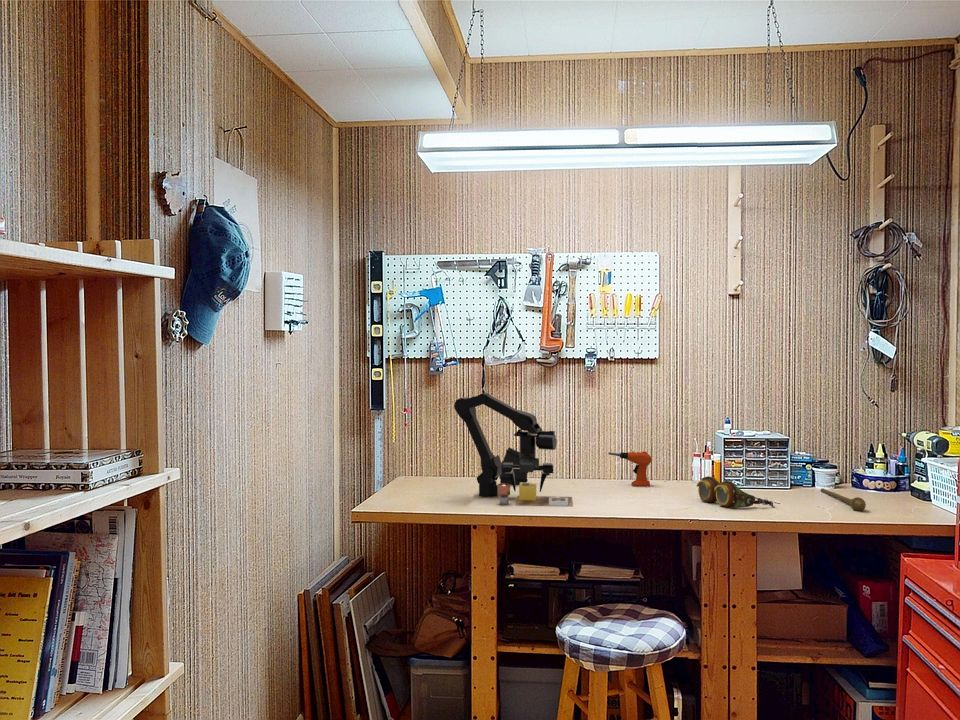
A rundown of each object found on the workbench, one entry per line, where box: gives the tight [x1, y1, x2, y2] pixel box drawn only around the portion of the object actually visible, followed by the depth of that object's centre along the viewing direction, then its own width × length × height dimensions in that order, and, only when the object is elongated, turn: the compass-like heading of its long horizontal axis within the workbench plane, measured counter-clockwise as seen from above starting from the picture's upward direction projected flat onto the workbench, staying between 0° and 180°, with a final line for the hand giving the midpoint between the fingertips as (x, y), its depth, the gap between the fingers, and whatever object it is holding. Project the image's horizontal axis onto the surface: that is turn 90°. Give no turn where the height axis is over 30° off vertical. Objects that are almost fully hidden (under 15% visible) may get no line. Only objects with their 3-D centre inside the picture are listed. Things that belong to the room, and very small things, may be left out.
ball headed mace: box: [820, 487, 867, 512], centre depth 253 cm, size 5×35×5 cm
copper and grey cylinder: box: [497, 483, 511, 506], centre depth 246 cm, size 4×4×8 cm
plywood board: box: [514, 495, 574, 508], centre depth 251 cm, size 20×16×1 cm
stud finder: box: [518, 482, 537, 500], centre depth 255 cm, size 6×7×5 cm
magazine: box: [499, 446, 530, 486], centre depth 288 cm, size 4×13×15 cm, turn 89°
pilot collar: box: [548, 497, 568, 507], centre depth 246 cm, size 7×7×2 cm
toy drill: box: [607, 450, 652, 488], centre depth 285 cm, size 5×18×14 cm, turn 82°
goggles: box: [696, 475, 774, 509], centre depth 252 cm, size 24×24×10 cm
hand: (527, 491), depth 255 cm, fingers open, 9 cm apart
